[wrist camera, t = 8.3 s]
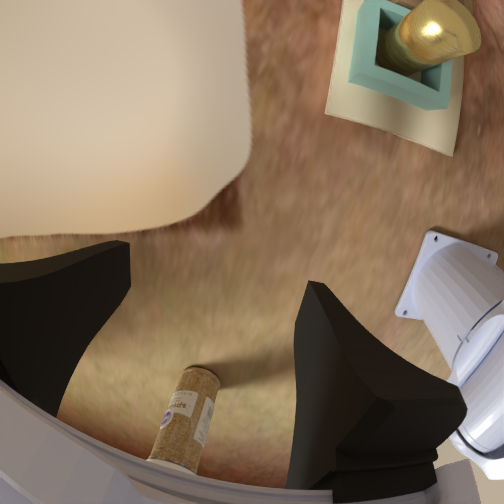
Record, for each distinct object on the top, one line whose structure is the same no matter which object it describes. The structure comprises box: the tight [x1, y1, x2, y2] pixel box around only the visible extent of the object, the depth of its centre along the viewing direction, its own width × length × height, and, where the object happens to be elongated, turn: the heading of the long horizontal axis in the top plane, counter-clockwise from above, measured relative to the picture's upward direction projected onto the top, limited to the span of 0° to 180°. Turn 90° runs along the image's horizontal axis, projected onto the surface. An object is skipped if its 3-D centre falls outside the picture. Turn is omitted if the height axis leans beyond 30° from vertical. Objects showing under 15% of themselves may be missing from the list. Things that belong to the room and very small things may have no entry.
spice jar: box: [146, 367, 220, 475], centre depth 22 cm, size 5×5×13 cm
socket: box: [348, 0, 452, 111], centre depth 12 cm, size 6×6×3 cm
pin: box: [375, 0, 481, 77], centre depth 10 cm, size 3×3×8 cm
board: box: [325, 0, 464, 157], centre depth 12 cm, size 10×18×1 cm, turn 170°
